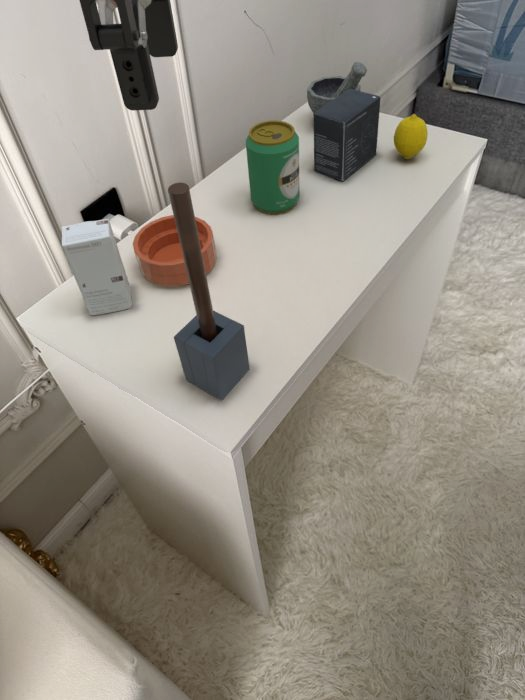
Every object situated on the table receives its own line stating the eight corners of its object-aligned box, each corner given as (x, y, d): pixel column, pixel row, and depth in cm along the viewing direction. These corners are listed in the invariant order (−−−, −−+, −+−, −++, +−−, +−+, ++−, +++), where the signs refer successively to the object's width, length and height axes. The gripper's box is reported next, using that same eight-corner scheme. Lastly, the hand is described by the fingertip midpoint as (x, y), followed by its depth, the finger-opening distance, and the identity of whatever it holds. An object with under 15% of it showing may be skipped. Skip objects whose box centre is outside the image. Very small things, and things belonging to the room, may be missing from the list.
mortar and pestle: (297, 127, 102) (297, 62, 93) (323, 108, 106) (325, 43, 97) (348, 142, 97) (352, 75, 88) (373, 121, 102) (379, 55, 92)
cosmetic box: (90, 317, 72) (58, 247, 62) (89, 295, 75) (59, 225, 65) (135, 308, 72) (109, 237, 63) (132, 286, 75) (108, 216, 66)
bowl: (133, 289, 75) (125, 265, 71) (148, 239, 82) (141, 215, 79) (212, 288, 74) (207, 264, 70) (220, 237, 81) (216, 213, 78)
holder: (185, 380, 64) (173, 336, 58) (214, 350, 66) (205, 306, 60) (221, 401, 61) (212, 358, 55) (249, 369, 64) (244, 325, 58)
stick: (209, 380, 63) (166, 194, 44) (211, 369, 65) (169, 182, 45) (224, 380, 63) (187, 193, 43) (226, 368, 64) (190, 181, 45)
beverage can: (280, 221, 83) (277, 150, 74) (241, 205, 86) (233, 136, 77) (309, 196, 87) (309, 126, 78) (270, 182, 90) (266, 113, 81)
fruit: (424, 151, 94) (432, 106, 87) (421, 167, 90) (430, 122, 84) (393, 148, 95) (399, 104, 89) (389, 164, 91) (395, 120, 85)
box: (346, 144, 97) (350, 86, 89) (377, 155, 94) (383, 96, 86) (311, 170, 92) (312, 111, 84) (342, 182, 89) (346, 122, 81)
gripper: (49, -267, 30) (124, 43, 42) (-61, -263, 21) (76, 131, 33) (178, -280, 29) (216, 38, 42) (124, -282, 20) (193, 126, 32)
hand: (154, 79), depth 37 cm, fingers open, 8 cm apart
